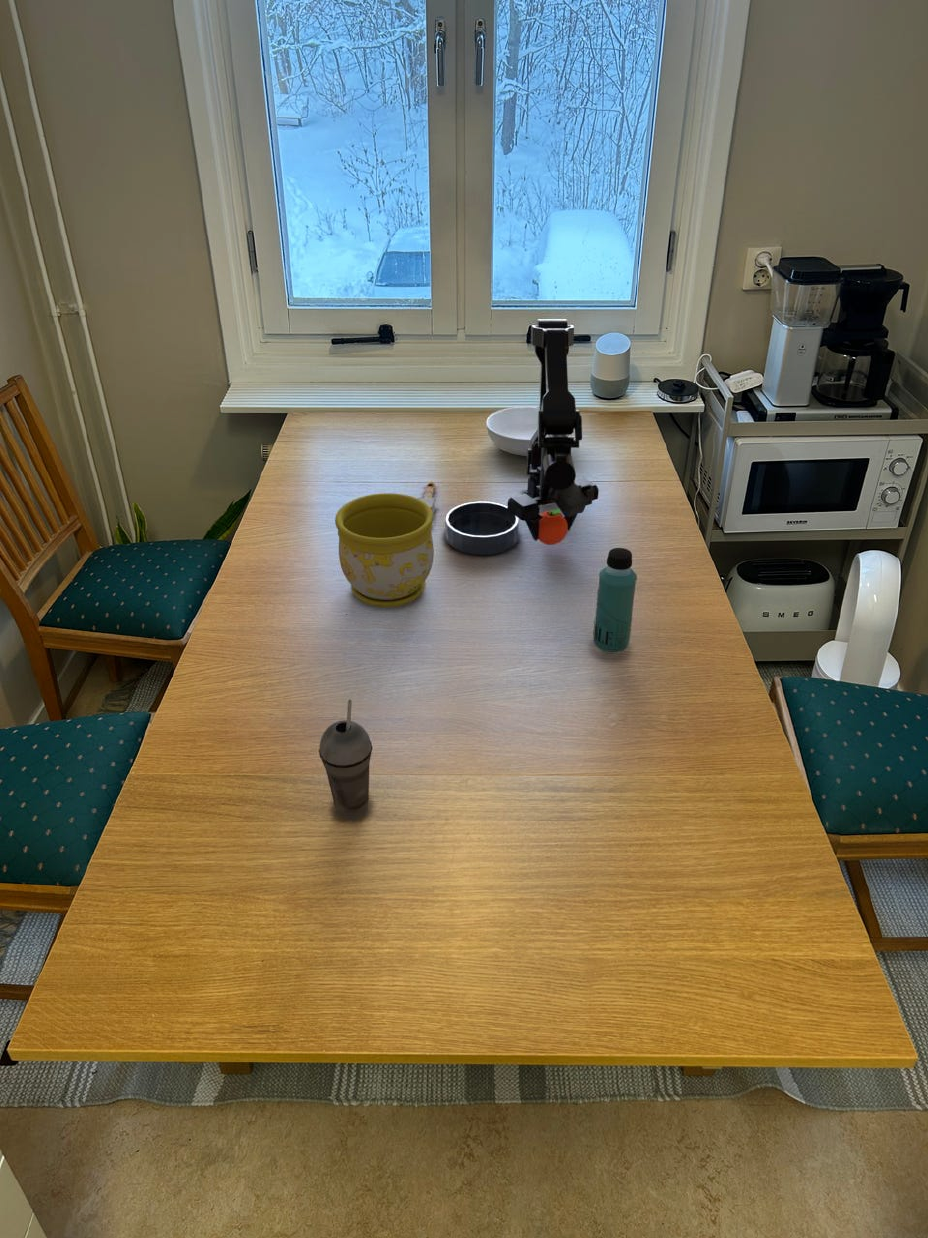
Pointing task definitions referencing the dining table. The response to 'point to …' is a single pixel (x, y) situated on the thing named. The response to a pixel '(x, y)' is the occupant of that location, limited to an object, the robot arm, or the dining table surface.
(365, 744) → the beverage cup
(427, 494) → the paintbrush
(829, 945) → the dining table surface
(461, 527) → the fruit bowl
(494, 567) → the dining table surface
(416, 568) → the flowerpot
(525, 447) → the serving bowl
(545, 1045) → the dining table surface
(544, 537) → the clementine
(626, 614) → the beverage bottle
